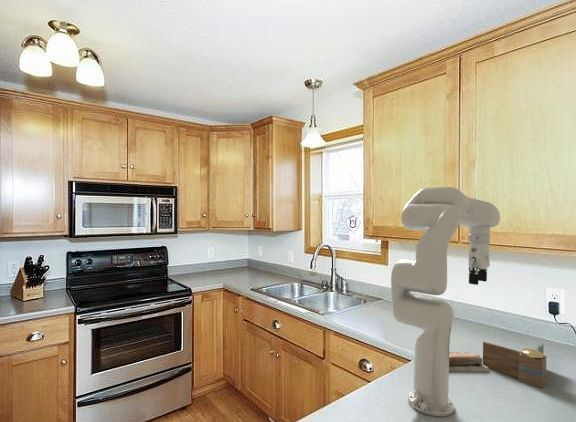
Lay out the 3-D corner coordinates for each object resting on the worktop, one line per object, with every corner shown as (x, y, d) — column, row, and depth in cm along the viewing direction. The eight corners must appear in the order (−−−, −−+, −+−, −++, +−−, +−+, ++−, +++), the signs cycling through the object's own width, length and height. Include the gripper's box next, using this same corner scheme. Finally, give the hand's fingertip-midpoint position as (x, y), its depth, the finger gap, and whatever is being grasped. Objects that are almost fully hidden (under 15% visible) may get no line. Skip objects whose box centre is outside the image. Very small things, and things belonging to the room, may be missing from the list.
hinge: (541, 388, 111) (542, 361, 111) (479, 368, 124) (480, 344, 124) (552, 371, 123) (553, 346, 123) (495, 354, 137) (496, 332, 137)
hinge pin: (540, 386, 111) (541, 357, 111) (519, 379, 115) (519, 351, 115) (544, 380, 115) (545, 352, 115) (523, 374, 119) (524, 346, 119)
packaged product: (441, 359, 121) (428, 348, 131) (441, 372, 121) (428, 360, 131) (489, 359, 122) (473, 348, 132) (489, 372, 122) (473, 360, 132)
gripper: (481, 240, 123) (480, 287, 123) (496, 239, 135) (495, 281, 135) (460, 239, 129) (459, 283, 129) (476, 237, 141) (475, 278, 140)
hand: (477, 282), depth 132 cm, fingers open, 9 cm apart
